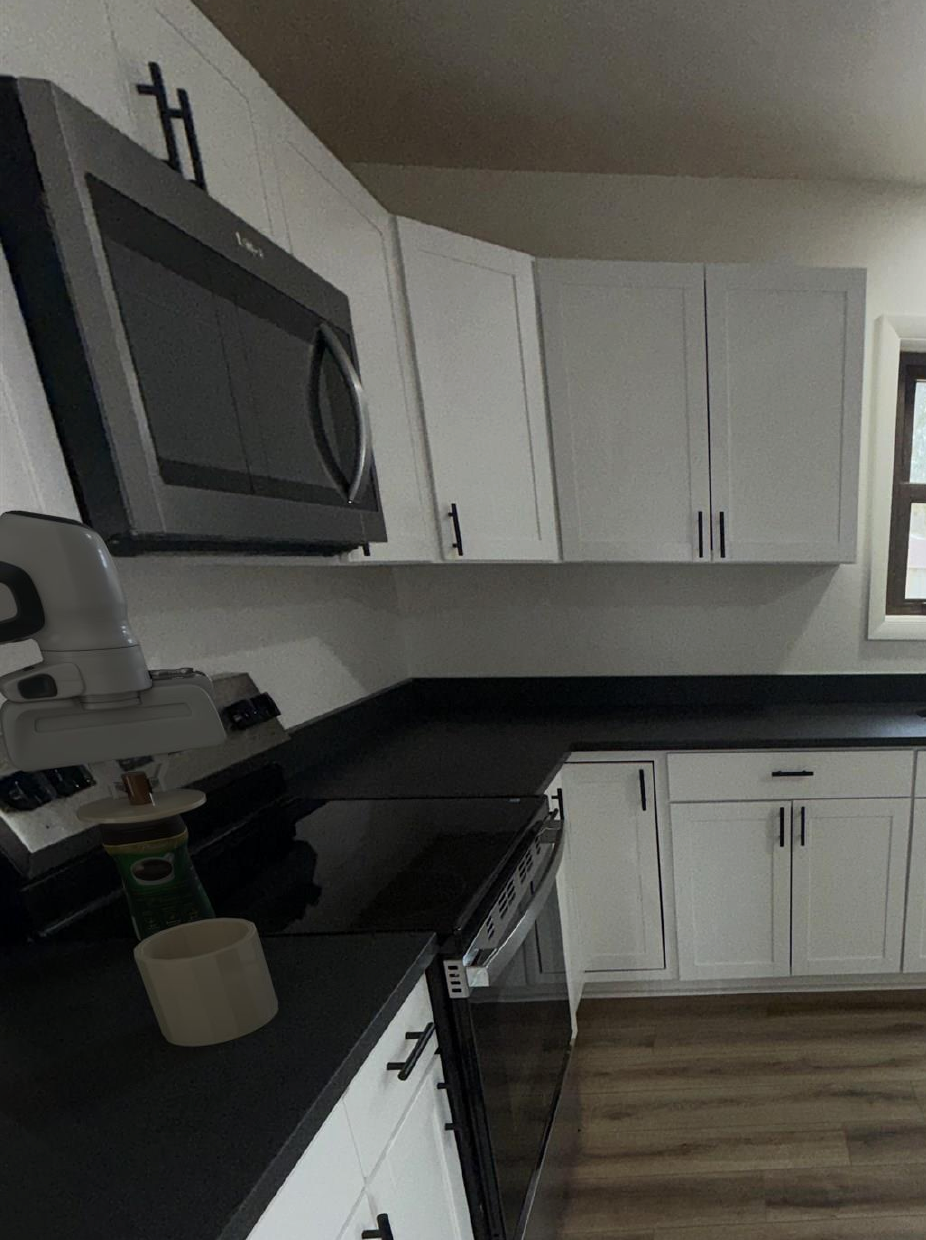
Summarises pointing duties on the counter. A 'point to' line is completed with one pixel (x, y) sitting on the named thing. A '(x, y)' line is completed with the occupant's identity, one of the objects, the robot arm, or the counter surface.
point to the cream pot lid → (140, 803)
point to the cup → (207, 981)
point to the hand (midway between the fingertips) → (139, 795)
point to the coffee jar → (157, 874)
